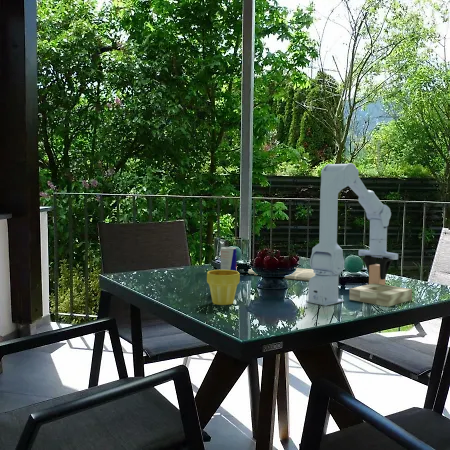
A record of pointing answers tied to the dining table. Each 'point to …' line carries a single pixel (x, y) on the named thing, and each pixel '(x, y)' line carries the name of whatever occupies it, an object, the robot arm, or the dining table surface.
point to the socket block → (380, 294)
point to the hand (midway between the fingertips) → (377, 278)
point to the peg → (375, 275)
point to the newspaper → (296, 274)
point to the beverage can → (228, 258)
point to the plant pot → (223, 285)
